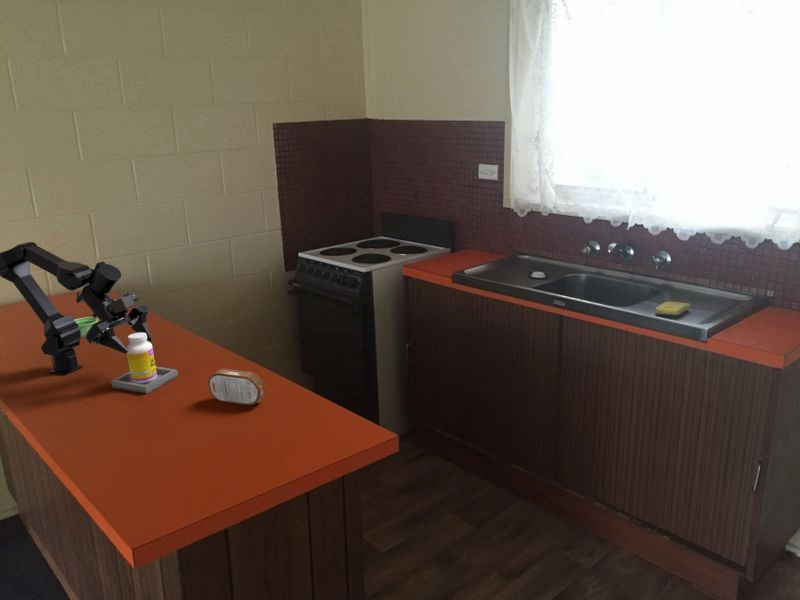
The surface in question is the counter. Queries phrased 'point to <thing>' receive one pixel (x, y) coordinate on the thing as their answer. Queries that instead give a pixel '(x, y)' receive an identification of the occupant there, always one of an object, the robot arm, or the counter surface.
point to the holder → (162, 378)
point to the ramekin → (85, 324)
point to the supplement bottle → (141, 359)
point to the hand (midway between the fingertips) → (139, 346)
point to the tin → (236, 387)
